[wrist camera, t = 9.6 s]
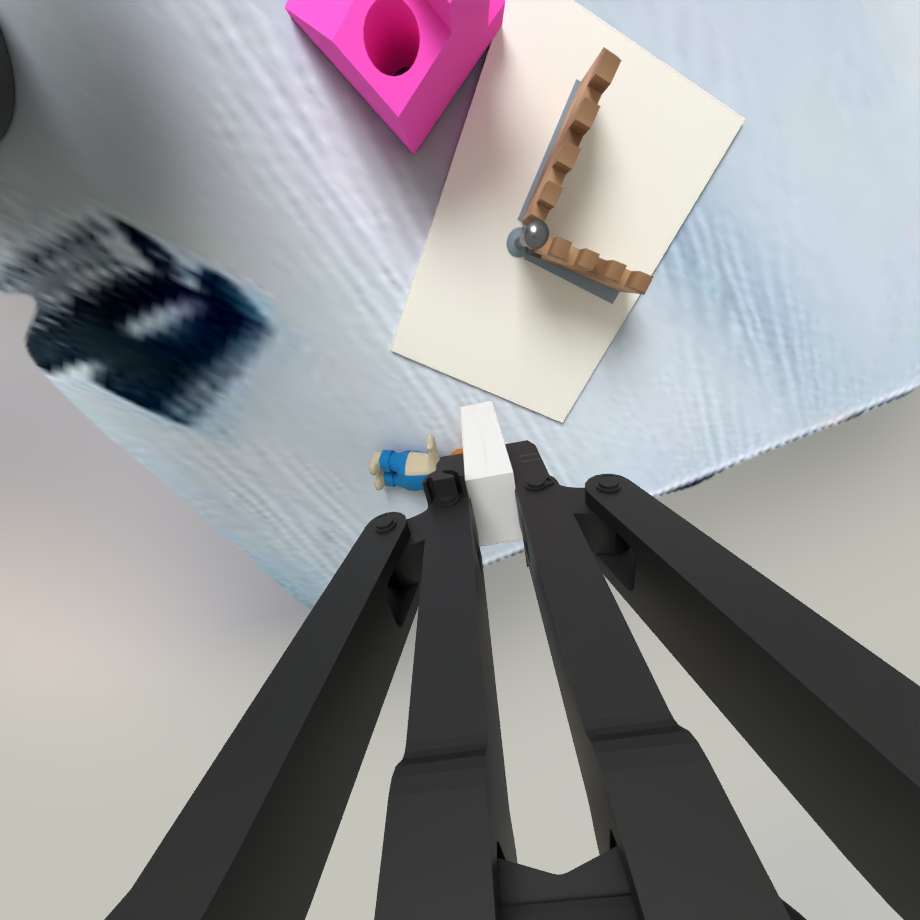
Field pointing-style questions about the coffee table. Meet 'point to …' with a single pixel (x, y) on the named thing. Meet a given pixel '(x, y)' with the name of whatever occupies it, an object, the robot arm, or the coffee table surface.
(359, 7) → the bracket
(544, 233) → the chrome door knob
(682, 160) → the card
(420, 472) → the toy
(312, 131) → the coffee table surface
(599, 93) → the fence fixed
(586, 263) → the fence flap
